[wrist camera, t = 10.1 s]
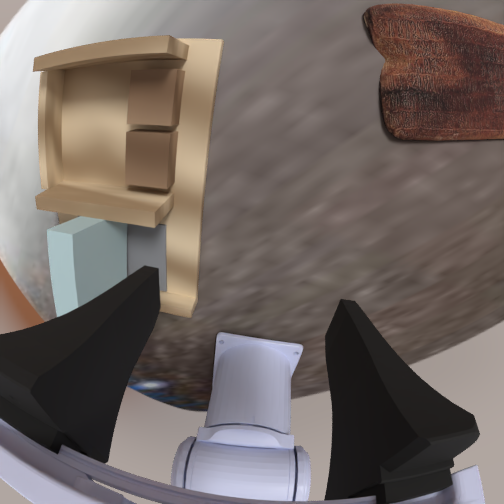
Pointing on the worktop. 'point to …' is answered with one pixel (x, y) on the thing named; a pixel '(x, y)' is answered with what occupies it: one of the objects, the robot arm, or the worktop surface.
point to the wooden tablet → (439, 72)
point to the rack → (114, 145)
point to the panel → (85, 260)
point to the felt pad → (147, 250)
